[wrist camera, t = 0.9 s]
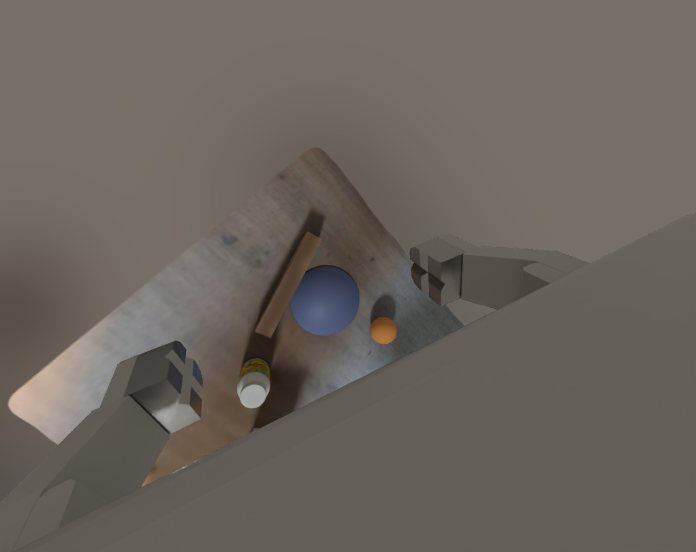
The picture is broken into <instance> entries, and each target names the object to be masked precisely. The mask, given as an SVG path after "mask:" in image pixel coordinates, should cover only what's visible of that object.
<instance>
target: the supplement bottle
mask: <svg viewBox="0 0 696 552" xmlns="http://www.w3.org/2000/svg"><path fill="white" fill-rule="evenodd" d="M269 390H270V369H269V366H268V364H267V363H266V362H265V361H264V360H262V359H257V358H256V359H251V360H249V361H247V362H246V363H245V364H244V365H243V366H242V368H241V371H240V375H239V380H238V385H237V393H238V396H239V397H240V400H241V403H242V404H243V405H244V406H245V407H248V408H256V407H258V406H260V405H261V404H262V403H263V402H264V401H265V399H266V396H267V395H268V393H269Z"/></svg>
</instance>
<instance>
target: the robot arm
mask: <svg viewBox="0 0 696 552" xmlns="http://www.w3.org/2000/svg"><path fill="white" fill-rule="evenodd" d="M410 259H411V260H412V261H413V262H414V263H413V265H412V267H411V276H412V279H413V281H414V283H415V285H416V286H417V287H418V288H419V289H420V290H421V291H425V292H429V297H430V298H431V299H433V300H434V301H435V302H436V303H438V304H439V305H440V306H443V305H446V304H448V303H450V302H452V301H455V300H457V299H459V298H461V299H463V300H467V301H470V302H474V303H477V304H480V305H484V306H487V307H490V308H494V309H497V310H496V311H494V312H492V313H490V314H488V315H486V316H484V317H482V318H480V319H478V320H476V321H474V322H472V323H470V324H468V325H466V326H464V327H462V328H460V329H458V330H456V331H454V332H452V333H450V334H448V335H446V336H444V337H442V338H440V339H438V340H436V341H434V342H432V343H430V344H428V345H426V346H424V347H422V348H420V349H418V350H416V351H414V352H412V353H410V354H408V355H406V356H404V357H402V358H400V359H398V360H396V361H394V362H392V363H390V364H388V365H386V366H384V367H382V368H380V369H378V370H376V371H374V372H372V373H370V374H368V375H366V376H364V377H362V378H360V379H358V380H356V381H353V382H351V383H349V384H347V385H345V386H343V387H341V388H339V389H337V390H335V391H333V392H331V393H329V394H327V395H325V396H323V397H321V398H319V399H317V400H315V401H313V402H311V403H309V404H307V405H305V406H303V407H301V408H299V409H297V410H295V411H293V412H291V413H289V414H287V415H285V416H283V417H281V418H279V419H278V420H276V421H274V422H272V423H270V424H268V425H266V426H264V427H262V428H260V429H258V430H256V431H254V432H252V433H250V434H248V435H246V436H244V437H242V438H240V439H238V440H236V441H234V442H232V443H230V444H228V445H226V446H224V447H222V448H220V449H218V450H216V451H214V452H212V453H210V454H208V455H206V456H204V457H202V458H200V459H198V460H196V461H194V462H192V463H190V464H188V465H186V466H184V467H182V468H180V469H177V470H175V471H173V472H171V473H169V474H167V475H165V476H163V477H161V478H159V479H157V480H155V481H153V482H151V483H149V484H147V485H145V486H143V487H141V486H142V485H143V483H144V481H145V479H146V477H147V476H148V474H149V472H150V470H151V469H152V467H153V465H154V463H155V462H156V460H157V458H158V456H159V455H160V453H161V451H162V449H163V448H164V446H165V444H166V442H167V440H168V439H169V437H170V435H169V434H171V433H173V432H175V431H177V430H179V429H181V428H183V427H185V426H187V425H189V424H191V423H193V422H195V421H197V420H199V419H201V407H202V399H201V398H200V397H199V395H198V394H199V392H200V391H201V389H202V388H203V380H202V375H201V371H200V369H199V367H198V365H197V364H196V362H195V361H194V359H190V358H187V357H186V349H185V347H184V346H183V345H182V344H181V342H179V341H174V342H171V343H169V344H166V345H163V346H161V347H158V348H155V349H153V350H150V351H147V352H145V353H142V354H140V355H136V356H134V357H131V358H129V359H126V360H124V361H122V362H120V363H119V364H118V365H117V367H116V370H115V372H114V375H113V377H112V379H111V382H110V384H109V386H108V389H107V391H106V394H105V396H104V398H103V401H102V403H101V406H100V408H98V409H95V410H93V411H92V412H91V413H90V414H89V415H88V416H87V417H86V418H85V419H84V420H83V421H82V422H81V423H80V424H79V425H78V426H77V427H76V428H75V429H74V430H73V431H72V432H71V433H70V434H69V435H68V436H67V437H66V438H65V439H64V440H63V441H62V442H61V443H60V444H59V445H58V446H57V447H56V448H55V449H54V450H53V451H52V452H51V453H50V454H49V455H48V456H47V457H46V458H45V459H44V460H43V461H42V462H41V463H40V464H39V465H38V466H37V467H36V468H35V469H34V470H33V471H32V472H31V473H30V474H29V475H28V476H27V477H26V478H25V479H24V480H23V481H22V482H21V483H20V484H19V485H18V486H16V487H15V488H14V489H13V490H12V492H10V493H9V494H8V495H7V496H6V498H4V499H3V501H1V502H0V552H696V213H695V214H690V215H687V216H684V217H681V218H679V219H677V220H675V221H673V222H671V223H669V224H668V225H666V226H664V227H662V228H660V229H658V230H656V231H654V232H652V233H650V234H648V235H646V236H644V237H642V238H640V239H638V240H636V241H634V242H632V243H630V244H628V245H626V246H624V247H622V248H620V249H618V250H616V251H614V252H612V253H610V254H608V255H606V256H604V257H602V258H600V259H598V260H596V261H594V262H592V263H588V262H585V261H582V260H580V259H577V258H574V257H572V256H569V255H566V254H563V253H561V252H558V251H548V250H533V249H519V248H504V247H490V246H481V247H476V246H474V245H472V244H470V243H468V242H466V241H463V240H461V239H459V238H457V237H454V236H452V235H450V234H443V235H441V236H439V237H436V238H434V239H432V240H429V241H427V242H425V243H423V244H420V245H418V246H416V247H413V248H411V249H410Z"/></svg>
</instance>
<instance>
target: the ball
mask: <svg viewBox="0 0 696 552" xmlns="http://www.w3.org/2000/svg"><path fill="white" fill-rule="evenodd" d="M370 334H371V336H372V338H373V339H374V340H375V341H376V342H377V343H380V344H388V343H390V342H392V341H393V340H394V339H395V337H396V335H397V327H396V324H395V323H394V322H393V321H392V320H391V319H390V318H387V317H379V318H377V319H375V320H374V321H373V322H372V324H371V327H370Z"/></svg>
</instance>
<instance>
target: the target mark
mask: <svg viewBox="0 0 696 552" xmlns="http://www.w3.org/2000/svg"><path fill="white" fill-rule="evenodd" d="M358 306H359V292H358V289H357V286H356V284H355V282H354V281H353V279H352V278H351V277H350V276H349V275H348V274H347V273H346V272H344V271H343V270H341V269H338V268H335V267H330V266H323V267H317V268H314V269H312V270H310V271H308V272H306V273H305V274H304V275H303V277H302V279H301V281H300V283H299V285H298V287H297V289H296V291H295V293H294V294H293V296H292V298H291V310H292V314H293V316H294V318H295V320H296V321H297V323H298V324H299V325H300V326H301V327H302V328H303V329H305V330H306V331H308V332H310V333H313V334H316V335H331V334H334V333H337V332H339V331H341V330H343V329H344V328H345V327H347V326H348V325H349V324H350V323H351V321H352V320H353V319H354V317H355V315H356V313H357V310H358Z"/></svg>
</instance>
